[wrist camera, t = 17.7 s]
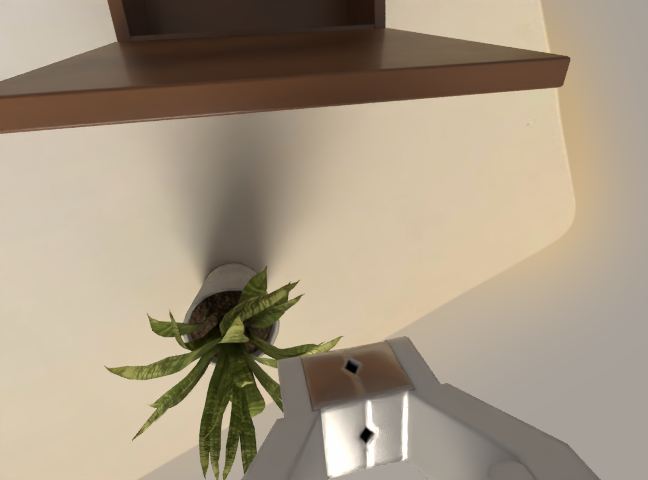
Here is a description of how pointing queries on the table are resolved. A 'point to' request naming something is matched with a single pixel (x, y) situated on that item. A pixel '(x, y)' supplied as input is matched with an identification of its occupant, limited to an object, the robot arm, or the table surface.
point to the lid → (263, 76)
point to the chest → (239, 17)
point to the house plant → (226, 357)
